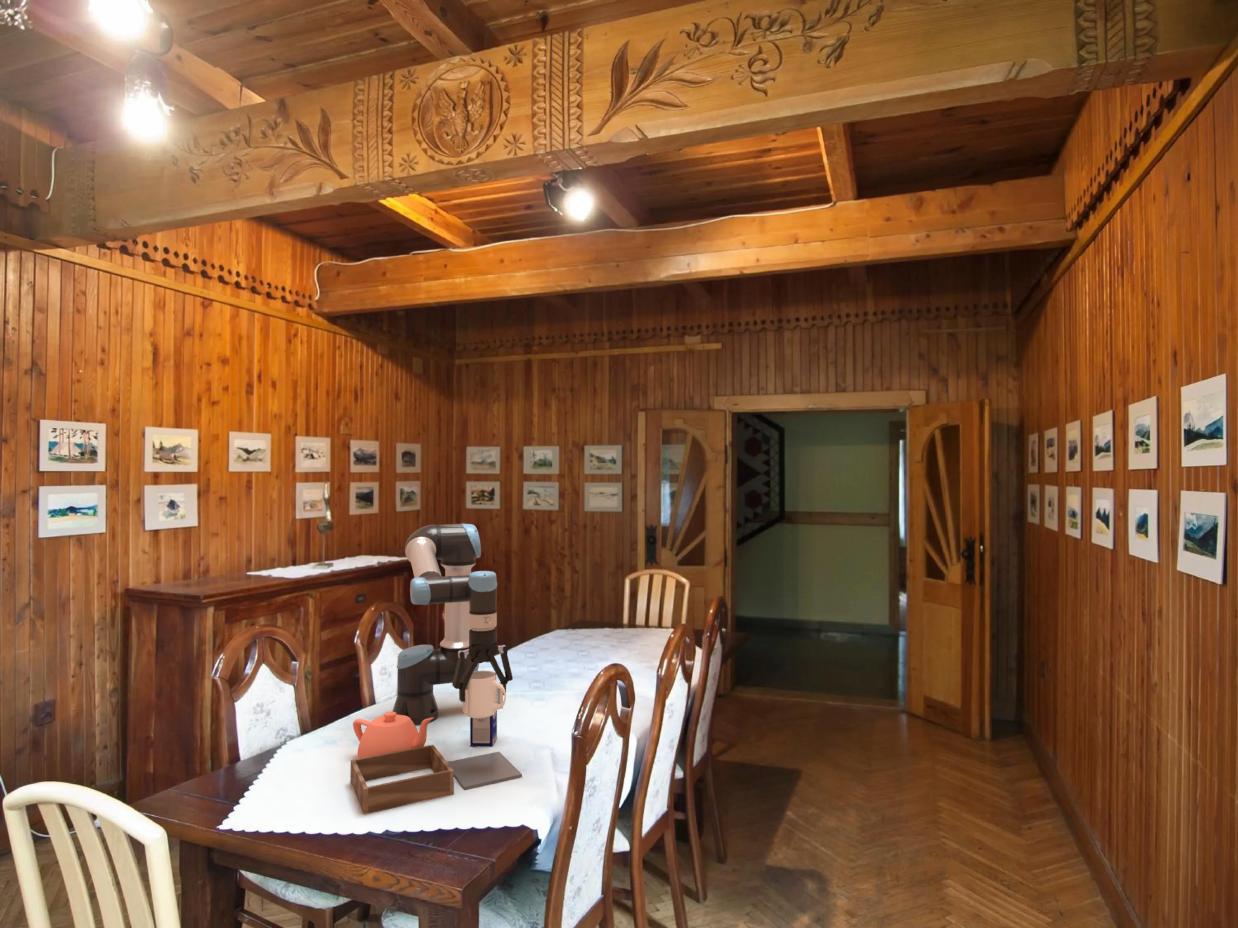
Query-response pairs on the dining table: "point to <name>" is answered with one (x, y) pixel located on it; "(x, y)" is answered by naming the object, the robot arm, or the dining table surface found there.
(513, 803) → the dining table surface
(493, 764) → the slate trivet
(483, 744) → the milk carton
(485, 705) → the mug
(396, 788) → the walnut caddy
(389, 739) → the teapot
